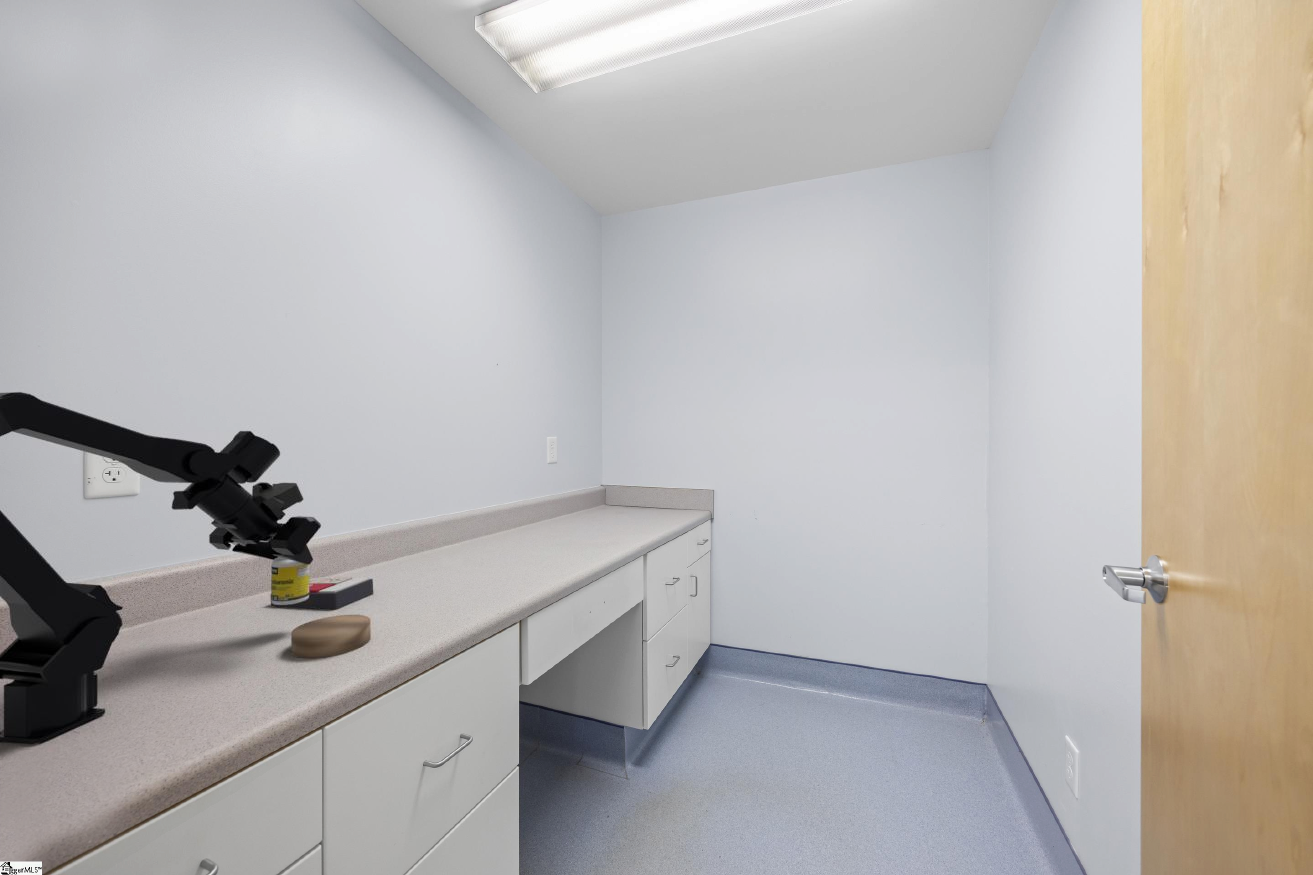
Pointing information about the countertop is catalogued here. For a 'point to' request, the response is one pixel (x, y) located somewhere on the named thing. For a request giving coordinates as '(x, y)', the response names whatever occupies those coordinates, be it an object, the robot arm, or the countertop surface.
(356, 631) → the pedestal
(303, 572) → the supplement bottle
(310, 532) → the robot arm
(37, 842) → the countertop surface
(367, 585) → the red and grey box
